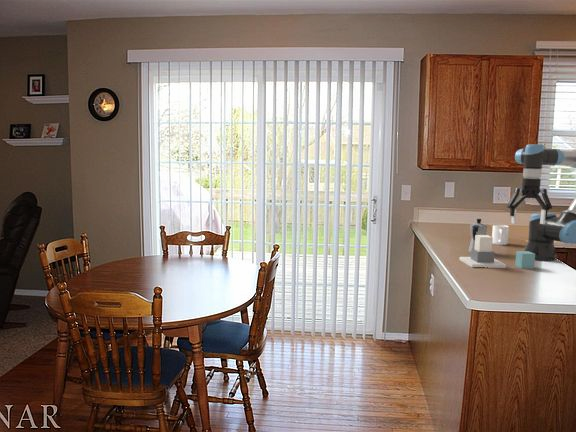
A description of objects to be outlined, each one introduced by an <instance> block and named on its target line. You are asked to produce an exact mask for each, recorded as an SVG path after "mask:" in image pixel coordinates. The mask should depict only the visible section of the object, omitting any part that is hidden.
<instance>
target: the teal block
mask: <svg viewBox="0 0 576 432" xmlns="http://www.w3.org/2000/svg"><path fill="white" fill-rule="evenodd" d="M514 262H515V264H514V265H515V266H516V267H518V268H519V269H529V270H530V269H531V270H532V269H533V270H535V262H536V260H535V254H534V253H532V252H529V251H524V250H522V251H521V250H517V251H515V261H514Z"/></svg>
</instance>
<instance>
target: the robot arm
mask: <svg viewBox="0 0 576 432" xmlns="http://www.w3.org/2000/svg"><path fill="white" fill-rule="evenodd" d="M514 160H515V162H516V163H517V164H519V165H523V169H522V170H523V171H522V173H523V174H522V177H523V178H522V184H521V186H522V187H521V188H519V187H515V188H514V192H513V194H512V196H511V198H510V199H509V201H508V202H507V204H506V208H508V209H510V211H509V212H510V213H509V214H510V215H509V216H510V217H511V221H510V223H511V224H512V225H513V224H514V225H515V224H516V223H517V222H516V221H517V208H518V206H519V205H520V204H522V202H523V201H524V200H526V199H535V200H536V201H537V202H538V204H539V205H540V207H541V208H542V209H540V212H539V213H532V214H531V215H530V218H529V223H528V239H527V240H528V241H527V243H526V246H525V248H524V250H523V251H529V252H532V253H534V254H535V261H549V260H552V261H556V260H557V252H556V248H555V243H554V242H555V241H556V242H561V243H563V244H572V245H574V244H576V196H575V197H574V199H573V200H572V201H571V204H569V207H568V208H567V209H566V210H562V211H561V213H560V214H559V216H557V213H556V212H555V213H552V212H551V213H550V212H548V211H550V210H551V209H553V206H552V203H551V201H550V198H549V196H548V190H547V189H546V188H541V181H542V180H541V178H542V171H543V170H542V169H543V166H563V167H570V168H572V169H576V149H572V150H561V149H560V148H559V149H558V148H545V147H544V145H543V144H540V143H537V144H536V143H535V144H533V143H530V144H529V143H528V144H526V146H525V148H520V149H517V150H516V152H515V153H514ZM520 193H522V194H520ZM539 194H541V196H542V198H541V196H540V195H539Z"/></svg>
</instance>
